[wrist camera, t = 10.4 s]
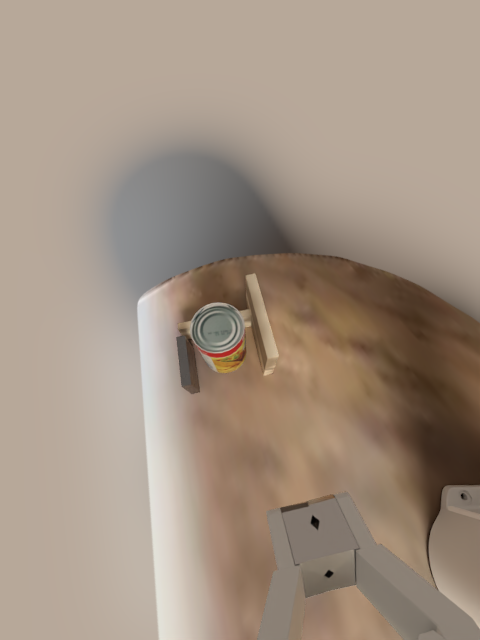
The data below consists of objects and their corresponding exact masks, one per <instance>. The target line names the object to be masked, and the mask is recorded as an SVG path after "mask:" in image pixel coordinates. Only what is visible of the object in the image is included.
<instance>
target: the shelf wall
mask: <svg viewBox="0 0 480 640" xmlns="http://www.w3.org/2000/svg"><path fill="white" fill-rule="evenodd" d="M246 305H247V310H242V311H239V312H240V313H241V314H242V316H243V319H244V323H245V327H250V326H251V327H252V331H253V335H254V339H255V343H256V347H257V351H258V355H259V359H260V363H261V367H262V371H263V375H264V376H265V375H270V374H273V371H274V368H275V365H276V362H277V359H278V356H279V354H278V351H277V347H276V344H275V340H274V337H273V334H272V330H271V327H270V323H269V320H268V316H267V313H266V309H265V306H264V302H263V299H262V295H261V292H260V288H259V285H258V281H257V278H256V274H250V275H246ZM190 324H191V321H188V322H183V323H178V330H179V332H180V333H181V334H182V336H186V338H187V339H192V338H191V334H190Z"/></svg>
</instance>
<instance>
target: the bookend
mask: <svg viewBox="0 0 480 640" xmlns="http://www.w3.org/2000/svg"><path fill="white" fill-rule="evenodd" d="M177 347H178V356H179V365H180V375H181V384H182V387H183V388H184V389H186V390H187V391H189V392H190V393H191V394H194V393H198V392H200V390H199V383H198V375H197V368H196V361H195V353H194V349H193V347H192V345H191V344H190V342H189V341H188V339H187V338H186V336H180V337H177Z"/></svg>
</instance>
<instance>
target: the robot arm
mask: <svg viewBox="0 0 480 640" xmlns="http://www.w3.org/2000/svg"><path fill="white" fill-rule="evenodd" d="M461 493H462V494H463V499H462V498H461ZM266 513H267V519H268V524H269V529H270V534H271V539H272V544H273V549H274V554H275V559H276V563H277V568H278V570H276V571H274V572H273V576H272V580H271V584H270V588H269V592H268V596H267V600H266V605H265V609H264V613H263V617H262V621H261V625H260V629H259V633H258V638H257V640H301V638H302V630H303V621H304V613H305V604H306V598H308V597H311V596H314V595H318V594H321V593H324V592H328V591H331V590H335V589H340V588H344V587H349V586H353V585H357V588H358V589H359V590H360V591H361V592H362V593H363V594H364V595H365V597H366V598H367V599H368V600H369V601H370V602H371V603H372V604H373V606H374V607H375V608H376V609H377V610H378V611H379V612H380V613H381V614H382V616H383V617H384V618H385V619H386V620H387V621H388V622H389V623H390V625H391V626H392V627H393V628H394V629H395V630H396V631H397V632H398V633H399V635H400V636H401V637H402V638H403V639H404V640H480V485H448V486H445V487H444V488H443V490H442V496H441V510H440V512H439V515H438V516H437V518H436V520H435V522H434V524H433V526H432V529H431V533H430V538H429V560H430V566H431V570H432V574H433V577H434V580H435V583H436V586H437V588H438V590H439V591H438V590H437V589H436V588H435V587H434V586H432V585H431V584H430V583H429V582H427V581H426V580H425V579H424V578H423V577H421V576H420V575H419V574H418V573H416V572H415V571H414V570H413V569H411V568H410V567H409V566H408V565H407V564H405V563H404V562H403V561H402V560H400V559H399V558H398V557H397V556H396V555H394V554H393V553H392V552H391V551H389V550H388V549H387V548H386V547H384V546H383V545H382V544H376V542H375V541H374V539H373V537H372V535H371V533H370V531H369V529H368V528H367V526H366V524H365V522H364V520H363V518H362V517H361V515H360V513H359V511H358V509H357V507H356V505H355V504H354V502H353V500H352V498H351V496H350V495H349V494H348V492H346V491H344V492H340V493H336V494H331V495H327V496H324V497H320V498H316V499H313V500H309V501H306V502H302V503H298V504H294V505H290V506H285V507H281V508H276V509H272V510H269V511H266Z"/></svg>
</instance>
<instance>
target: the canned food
mask: <svg viewBox="0 0 480 640" xmlns="http://www.w3.org/2000/svg"><path fill="white" fill-rule="evenodd" d="M190 334H191V338H192V340H193V342H194V343H195V345H196V347H197V348H198V350H199V352H200V353H201V355H202V357H203V358H204V360H205V362H206V363H207V365H208V366H209V367H210V368H211V369H212V370H214V371H216V372H219V373H230V372H233V371H235V370H236V369H238V368H239V367H240V366H241V365H242V364H243V362H244V360H245V357H246V339H245V323H244V319H243V316H242V314H241V313H240V312H239V311H238V309H236V308H235V307H234V306H232V305H230V304H227V303H221V302H217V303H211V304H208V305H205V306H204V307H202V308H200V309H199V310H198V311H197V312H196V313H195V315H194V316H193V318H192V320H191V324H190Z"/></svg>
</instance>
